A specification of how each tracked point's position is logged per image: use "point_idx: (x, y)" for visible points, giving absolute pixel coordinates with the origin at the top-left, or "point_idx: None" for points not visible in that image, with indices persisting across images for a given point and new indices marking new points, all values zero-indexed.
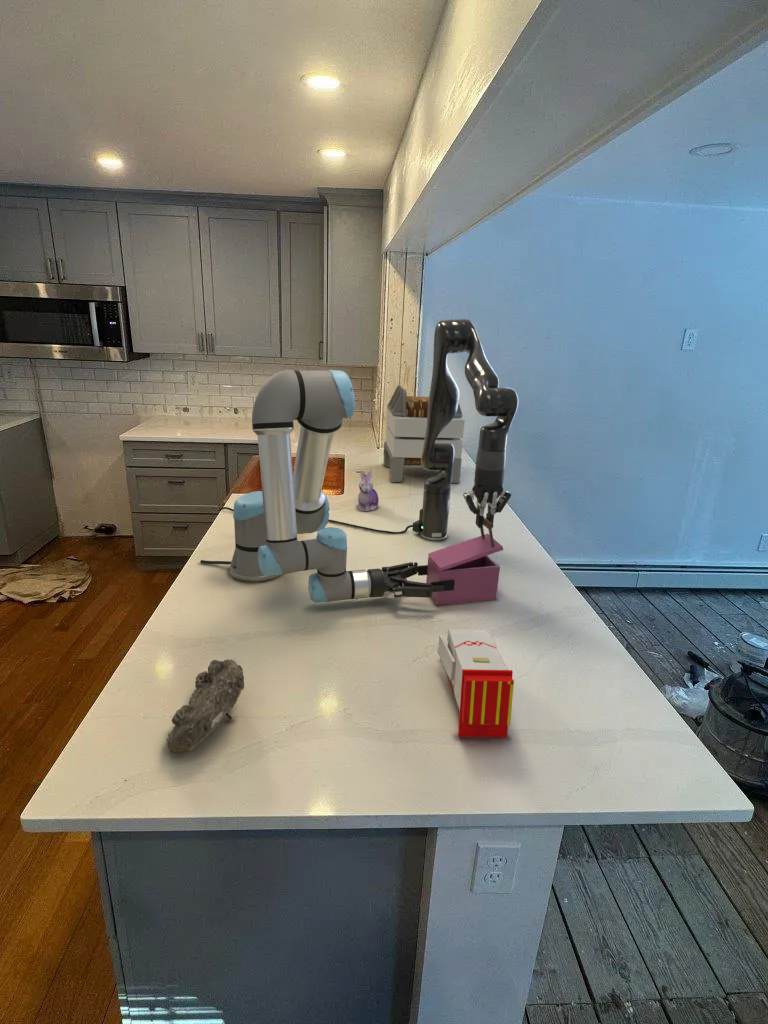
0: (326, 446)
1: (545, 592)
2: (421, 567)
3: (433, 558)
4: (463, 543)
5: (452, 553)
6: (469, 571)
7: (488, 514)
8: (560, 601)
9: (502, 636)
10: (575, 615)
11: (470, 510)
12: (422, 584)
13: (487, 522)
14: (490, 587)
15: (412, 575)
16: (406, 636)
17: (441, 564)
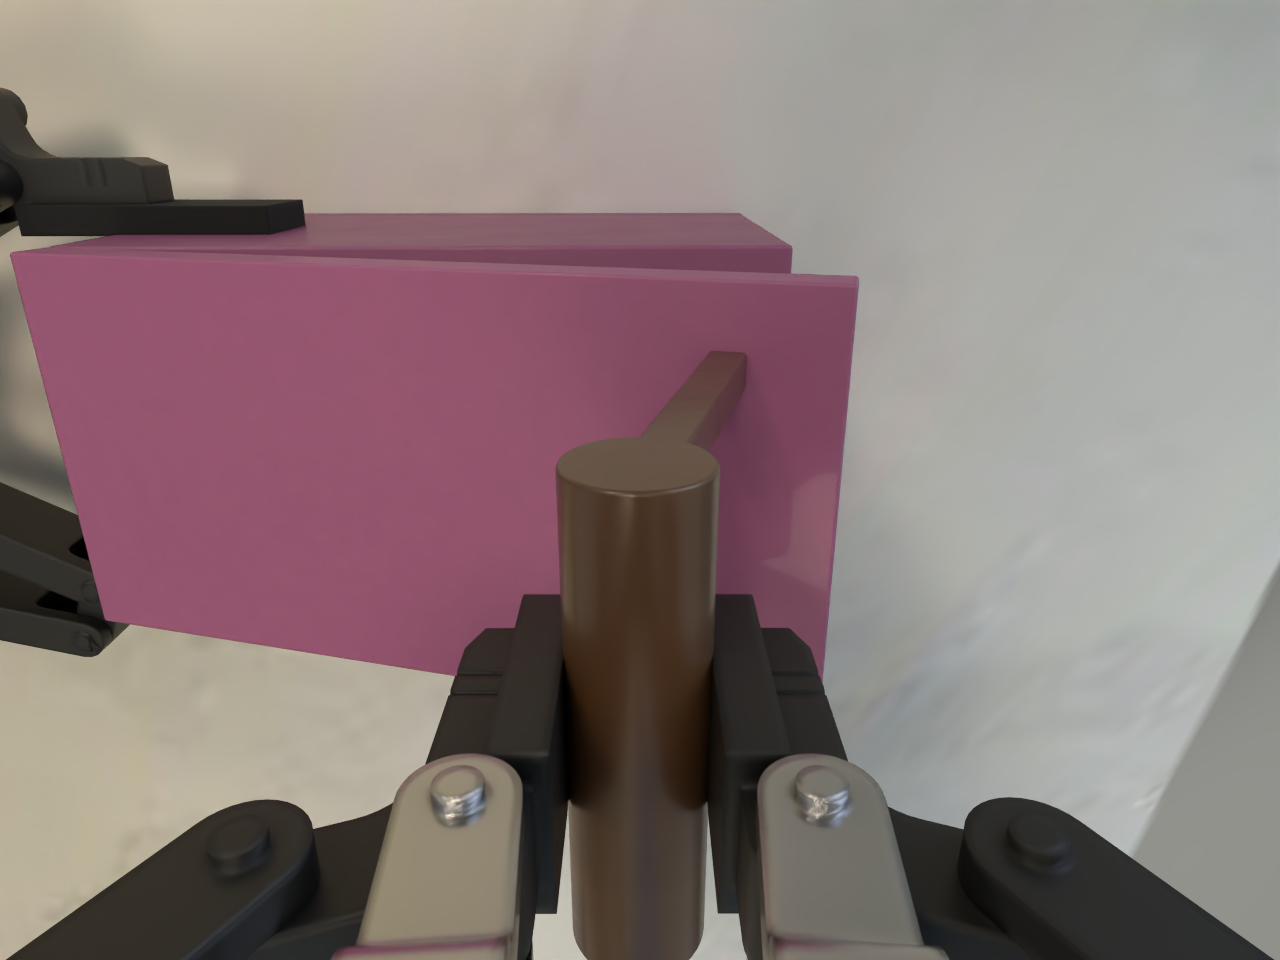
0: None
1: (1155, 432)
2: (51, 235)
3: (60, 409)
4: (439, 319)
5: (260, 458)
6: None
7: (720, 842)
8: (1158, 565)
9: (566, 825)
10: (1114, 722)
11: (203, 844)
12: (25, 576)
13: (597, 932)
14: None
15: (12, 227)
16: (27, 744)
17: (125, 576)
